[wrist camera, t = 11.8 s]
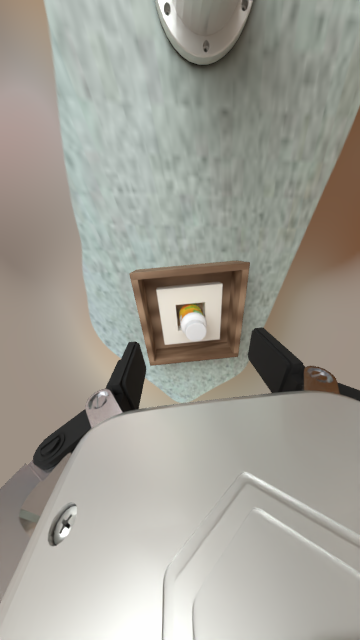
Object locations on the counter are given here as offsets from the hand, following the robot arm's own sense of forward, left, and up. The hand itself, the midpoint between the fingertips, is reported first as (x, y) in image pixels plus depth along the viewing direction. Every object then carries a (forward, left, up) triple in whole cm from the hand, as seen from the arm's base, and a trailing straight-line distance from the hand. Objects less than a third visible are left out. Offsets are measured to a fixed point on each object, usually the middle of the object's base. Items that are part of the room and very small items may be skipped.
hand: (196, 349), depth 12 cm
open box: (+6, +2, -24) cm, 24 cm away
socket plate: (+6, +2, -24) cm, 24 cm away
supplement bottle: (+6, +2, -23) cm, 24 cm away
